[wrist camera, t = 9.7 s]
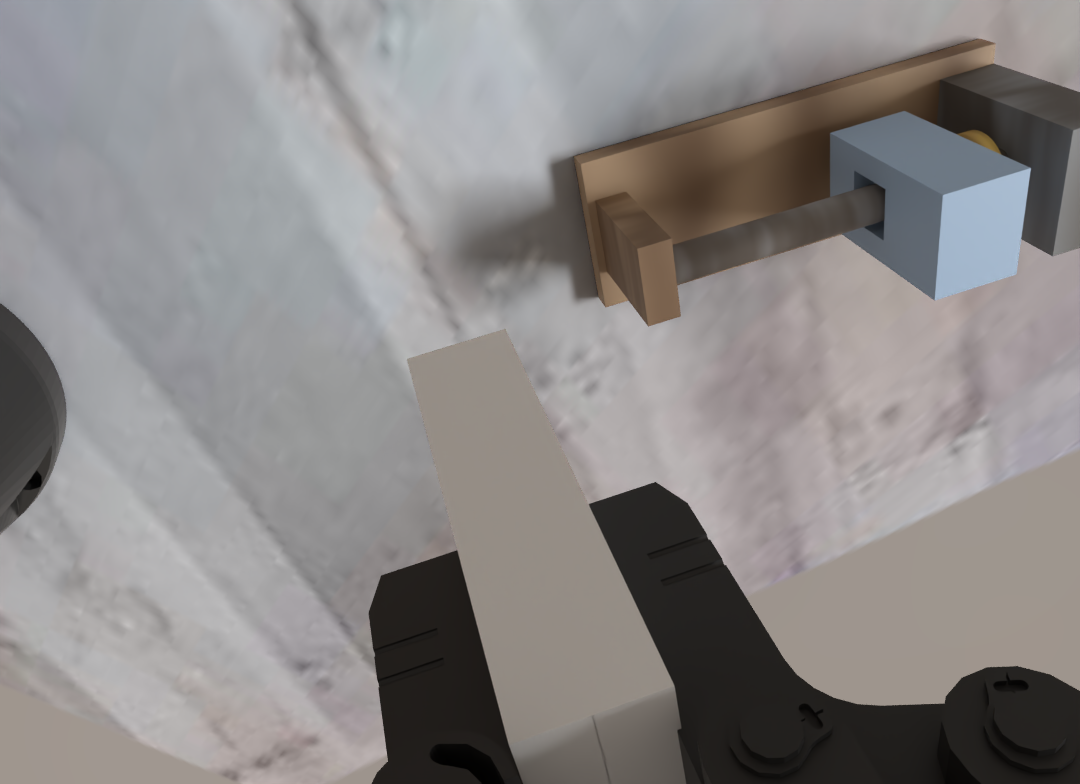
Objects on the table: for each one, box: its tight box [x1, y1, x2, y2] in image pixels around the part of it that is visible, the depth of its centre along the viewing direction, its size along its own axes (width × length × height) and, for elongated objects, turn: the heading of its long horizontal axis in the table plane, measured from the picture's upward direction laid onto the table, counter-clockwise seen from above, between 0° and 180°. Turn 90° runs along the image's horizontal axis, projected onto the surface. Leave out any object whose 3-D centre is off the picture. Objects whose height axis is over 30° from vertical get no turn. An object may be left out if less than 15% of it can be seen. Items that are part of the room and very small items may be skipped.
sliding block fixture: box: [574, 39, 1080, 326], centre depth 42 cm, size 22×8×10 cm, turn 102°
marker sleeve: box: [830, 111, 1031, 300], centre depth 41 cm, size 4×5×9 cm
